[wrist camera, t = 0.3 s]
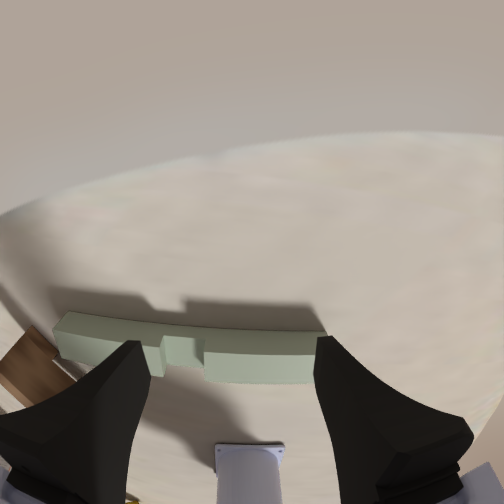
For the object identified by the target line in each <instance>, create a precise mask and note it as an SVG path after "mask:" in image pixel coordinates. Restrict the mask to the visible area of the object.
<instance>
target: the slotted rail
mask: <svg viewBox="0 0 504 504" xmlns="http://www.w3.org/2000/svg"><path fill="white" fill-rule="evenodd" d="M52 331H53V334H54V337H55V340H56V343H57V346H58V349H59V352H60V355H61V357H62V358H63V359H67V360H71V361H75V362H80V363H84V364H89V365H93V366H98V365H99V364H100V363H101V362H102V361H103V360H105V359H106V358H107V357H108V356H109V355H110V354H111V353H113V352H114V351H115V350H116V349H117V348H118V347H119V346H121V345H122V344H123V343H124V342H125V341H127V340H139V341H141V344H142V348H143V351H144V354H145V358H146V361H147V364H148V368H149V371H150V374H151V376H158V377H164V374H165V370H166V367H167V365H174V366H184V367H195V368H204V375H205V381H206V382H220V383H239V384H315V383H314V377H313V369H314V361H315V353H316V344H317V337H322V336H328V335H327V332H326V331H262V330H238V329H220V328H205V327H192V326H180V325H169V324H159V323H150V322H141V321H133V320H125V319H117V318H109V317H102V316H96V315H89V314H83V313H76V312H70V311H68V312H67V313H66V314H65V315H64V317H63V318H62V319H61V320H60V321H59V322H58V324H57V325H56V326H55V327H54V328H53V329H52Z"/></svg>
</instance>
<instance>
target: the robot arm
mask: <svg viewBox="0 0 504 504" xmlns="http://www.w3.org/2000/svg"><path fill="white" fill-rule="evenodd" d="M313 377H314V383H315V388H316V393H317V397H318V400H319V403H320V406H321V409H322V413H323V416H324V419H325V422H326V425H327V428H328V431H329V434H330V438H331V442H332V446H333V451H334V457H335V462H336V469H337V475H338V482H339V490H340V499H341V504H504V489H503V487H502V485H501V483H500V482H499V480H498V478H497V476H496V474H495V472H494V470H493V468H492V467H491V465H490V463H489V462H486V463H484V464H482V465H480V466H479V467H477V468H475V469H473V470H471V471H470V472H468V473H466V474H465V475H463V476H462V477H460V478H459V476H458V473H457V472H458V471H459V470H460V467H459V465H458V463H457V461H459V459H460V458H461V457H462V456H463V455H464V454H465V452H466V451H467V450H468V449H469V447H470V446H471V444H472V442H473V440H474V434H473V433H472V431H471V429H470V428H469V426H468V424H467V423H466V421H465V420H464V418H463V417H459V416H455V415H452V414H448V413H445V412H441V411H438V410H436V409H433V408H431V407H428V406H426V405H423V404H421V403H419V402H417V401H415V400H413V399H411V398H409V397H407V396H405V395H403V394H401V393H400V392H398V391H396V390H395V389H393V388H392V387H390V386H389V385H387V384H386V383H384V382H383V381H381V380H380V379H379V378H377V377H376V376H375V375H374V374H372V373H371V372H370V371H369V370H367V369H366V368H365V367H364V366H363V365H362V364H361V363H360V362H358V361H357V360H356V359H355V358H354V357H353V356H352V355H351V354H350V353H349V352H348V351H347V350H346V349H345V348H344V347H343V346H342V345H341V344H340V343H339V342H338V341H337V340H336V339H335V338H334V337H333V336H322V337H317V344H316V353H315V361H314V369H313ZM150 380H151V374H150V371H149V368H148V364H147V361H146V358H145V354H144V351H143V348H142V344H141V341H139V340H127V341H125V342H124V343H123V344H122V345H121V346H119V347H118V348H117V349H116V350H115V351H114V352H113V353H111V354H110V355H109V356H108V357H107V358H106V359H105V360H103V361H102V362H101V363H100V364H99V365H98V366H96V367H95V368H94V369H93V370H91V371H90V372H89V373H87V374H86V375H85V376H84V377H82V378H81V379H80V380H78V381H77V382H76V383H74V384H73V385H71V386H70V387H68V388H66V389H65V390H63V391H62V392H60V393H58V394H56V395H54V396H52V397H50V398H48V399H46V400H44V401H42V402H40V403H38V404H35V405H33V406H30V407H28V408H25V409H22V410H19V411H15V412H12V413H8V414H4V415H0V455H1V457H2V458H3V459H4V460H5V461H6V462H7V463H8V464H9V465H10V466H11V467H12V469H11V471H10V472H9V471H8V470H6V469H5V468H3V467H2V466H0V504H125V496H126V482H127V473H128V465H129V458H130V453H131V447H132V442H133V439H134V435H135V432H136V429H137V426H138V423H139V420H140V417H141V414H142V411H143V408H144V405H145V402H146V399H147V396H148V391H149V386H150ZM284 451H285V446H284V445H232V444H216V445H215V464H216V477H217V478H218V484H217V504H282V494H281V484H280V474H279V467H280V464H281V461H282V458H283V455H284Z"/></svg>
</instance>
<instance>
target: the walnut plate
mask: <svg viewBox="0 0 504 504" xmlns="http://www.w3.org/2000/svg"><path fill="white" fill-rule="evenodd" d="M58 352H59V351H57V350H56V349H55V348H54V347H53V346H52V345H51V344H50V343H49V342H48V341H47V340H46V339H45V338H44V337H43V336H42V335H41V334H40V333H39V332H38V331H37V330H36V329H35V328H34V327H33V326H31V327H30V328H29V329H28V330H27V331H26V332H25V333H24V335H23V336H22V337H21V338H20V339H19V340H18V341H17V342H16V343H15V345H14V346H13V347H12V348H11V349H10V350H9V351H8V353H7V354H6V355H5V356H4V357H3V358H2V360H1V361H0V384H1V385H2V386H3V387H4V388H5V389H6V390H7V391H8V392H9V393H11V394H12V395H13V396H14V397H15V398H16V399H17V400H18V401H19V402H20V403H21V404H23V405H24V406H25V407H26V408H28V407H30V406H33V405H35V404H38V403H40V402H42V401H44V400H46V399H48V398H50V397H52V396H54V395H56V394H58V393H60V392H62V391H63V390H65V389H66V388H68V387H70V386H71V385H73V384H74V383H76V381H75V380H74V379H72V378H71V377H70V376H69V375H68V374H67V373H65V372H64V371H63V370H62V369H61V368H60V367H59V366H58V365H56V364H55V363H54V362H53V361H52V360H53V359H54V357H55V356H56V355H57V353H58Z"/></svg>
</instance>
